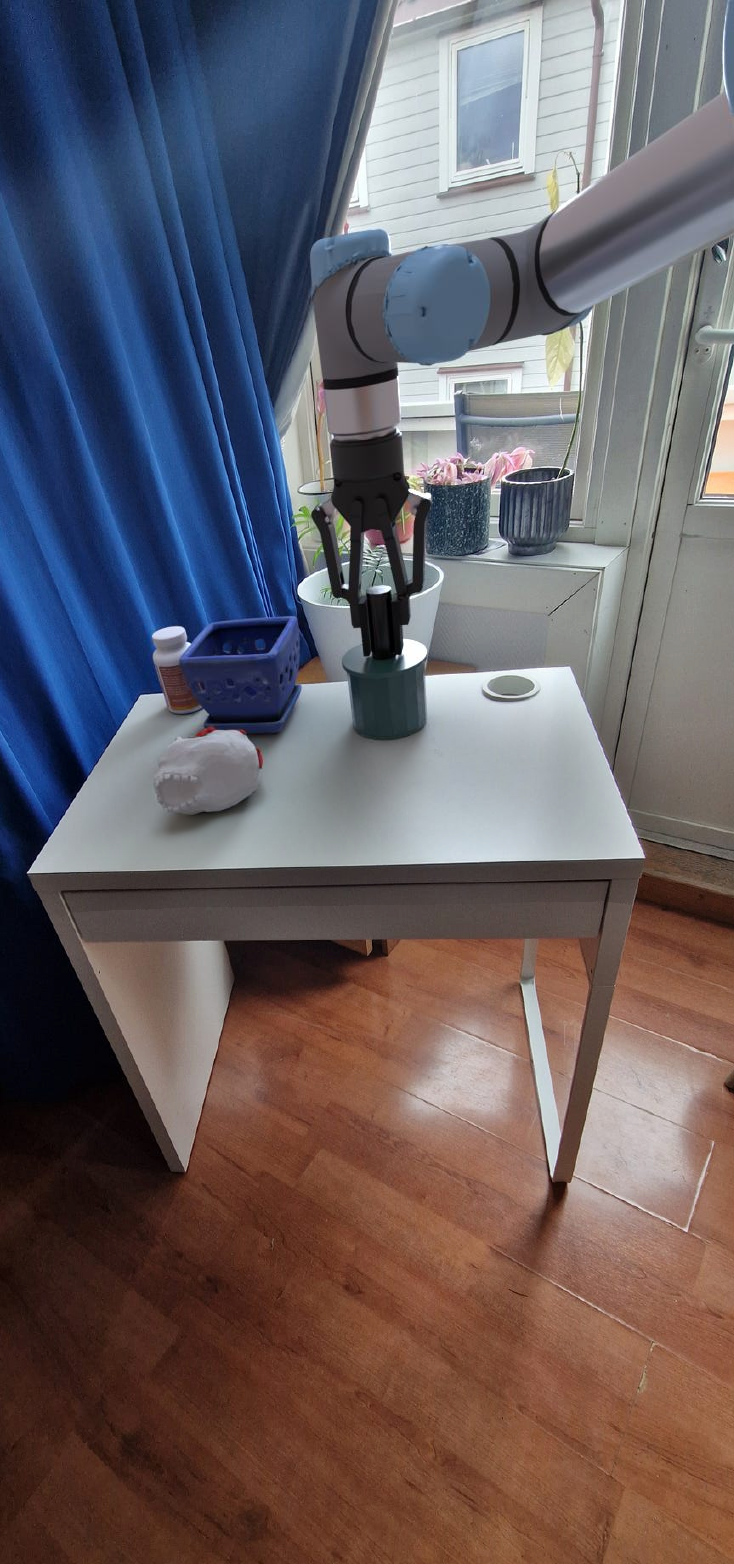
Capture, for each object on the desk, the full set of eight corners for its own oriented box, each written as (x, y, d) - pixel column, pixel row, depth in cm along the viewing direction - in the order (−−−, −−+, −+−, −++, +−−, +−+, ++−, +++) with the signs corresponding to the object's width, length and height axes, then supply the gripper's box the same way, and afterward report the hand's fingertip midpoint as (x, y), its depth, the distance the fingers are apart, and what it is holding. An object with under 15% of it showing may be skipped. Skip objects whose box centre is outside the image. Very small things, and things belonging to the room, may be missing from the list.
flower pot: (196, 743, 99) (173, 659, 91) (227, 698, 108) (208, 618, 101) (290, 742, 95) (273, 655, 88) (313, 695, 105) (300, 613, 97)
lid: (430, 644, 94) (427, 571, 88) (423, 681, 86) (419, 603, 80) (350, 649, 96) (341, 577, 90) (336, 685, 88) (326, 609, 83)
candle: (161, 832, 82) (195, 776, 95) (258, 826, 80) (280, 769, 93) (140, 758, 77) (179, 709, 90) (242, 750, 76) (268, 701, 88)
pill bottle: (217, 701, 108) (199, 628, 101) (184, 719, 105) (163, 644, 98) (192, 692, 112) (173, 620, 105) (160, 709, 109) (137, 636, 102)
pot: (429, 703, 99) (426, 642, 93) (423, 738, 91) (419, 675, 86) (359, 705, 101) (352, 646, 95) (348, 740, 94) (340, 678, 88)
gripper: (447, 415, 76) (452, 635, 91) (296, 434, 80) (325, 642, 95) (442, 429, 70) (448, 661, 85) (280, 449, 74) (313, 667, 89)
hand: (383, 650), depth 90 cm, fingers open, 3 cm apart
